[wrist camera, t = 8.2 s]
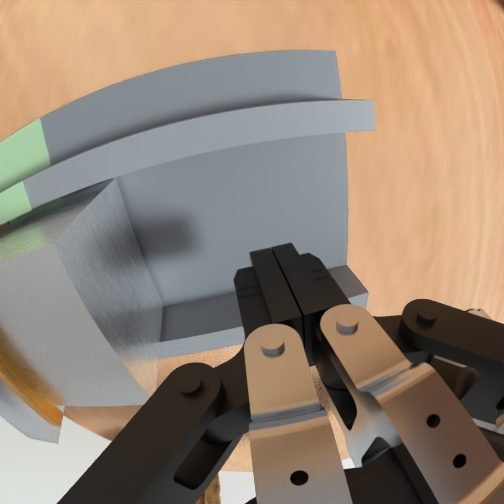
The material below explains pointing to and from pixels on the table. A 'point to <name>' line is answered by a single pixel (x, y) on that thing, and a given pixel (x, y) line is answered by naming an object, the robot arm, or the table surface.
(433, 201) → the table surface
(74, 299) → the plunger
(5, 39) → the table surface
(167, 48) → the table surface
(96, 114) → the base
